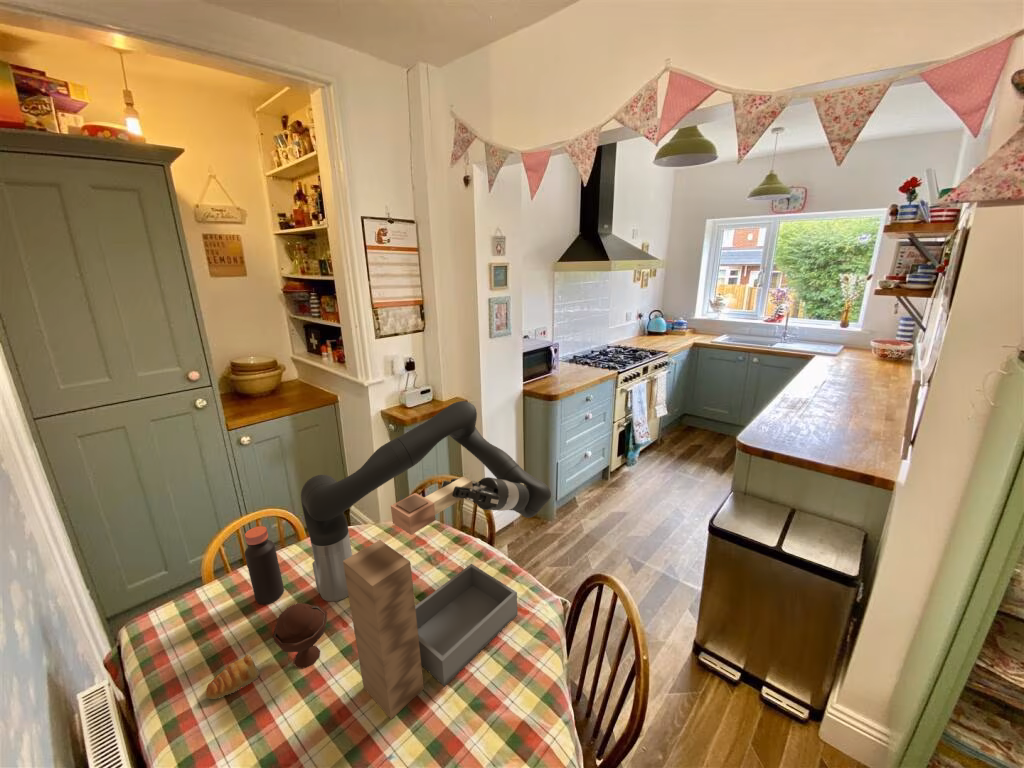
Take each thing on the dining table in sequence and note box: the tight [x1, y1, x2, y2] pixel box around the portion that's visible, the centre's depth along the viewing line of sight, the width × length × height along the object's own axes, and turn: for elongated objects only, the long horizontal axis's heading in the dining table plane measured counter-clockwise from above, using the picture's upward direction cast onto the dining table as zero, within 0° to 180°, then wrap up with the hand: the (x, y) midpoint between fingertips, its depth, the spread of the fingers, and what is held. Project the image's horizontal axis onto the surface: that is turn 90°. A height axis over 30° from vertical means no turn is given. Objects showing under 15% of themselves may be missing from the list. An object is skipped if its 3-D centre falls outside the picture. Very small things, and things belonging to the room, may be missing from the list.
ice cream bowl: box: [272, 602, 328, 669], centre depth 94 cm, size 11×11×15 cm
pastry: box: [205, 654, 260, 700], centre depth 91 cm, size 9×7×4 cm
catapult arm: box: [390, 476, 473, 536], centre depth 89 cm, size 18×6×4 cm, turn 140°
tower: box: [343, 539, 425, 720], centre depth 85 cm, size 8×10×32 cm
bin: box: [415, 563, 518, 687], centre depth 102 cm, size 24×16×7 cm, turn 140°
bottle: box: [244, 525, 285, 605], centre depth 112 cm, size 7×7×20 cm
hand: (449, 489), depth 91 cm, fingers closed on catapult arm, 3 cm apart
